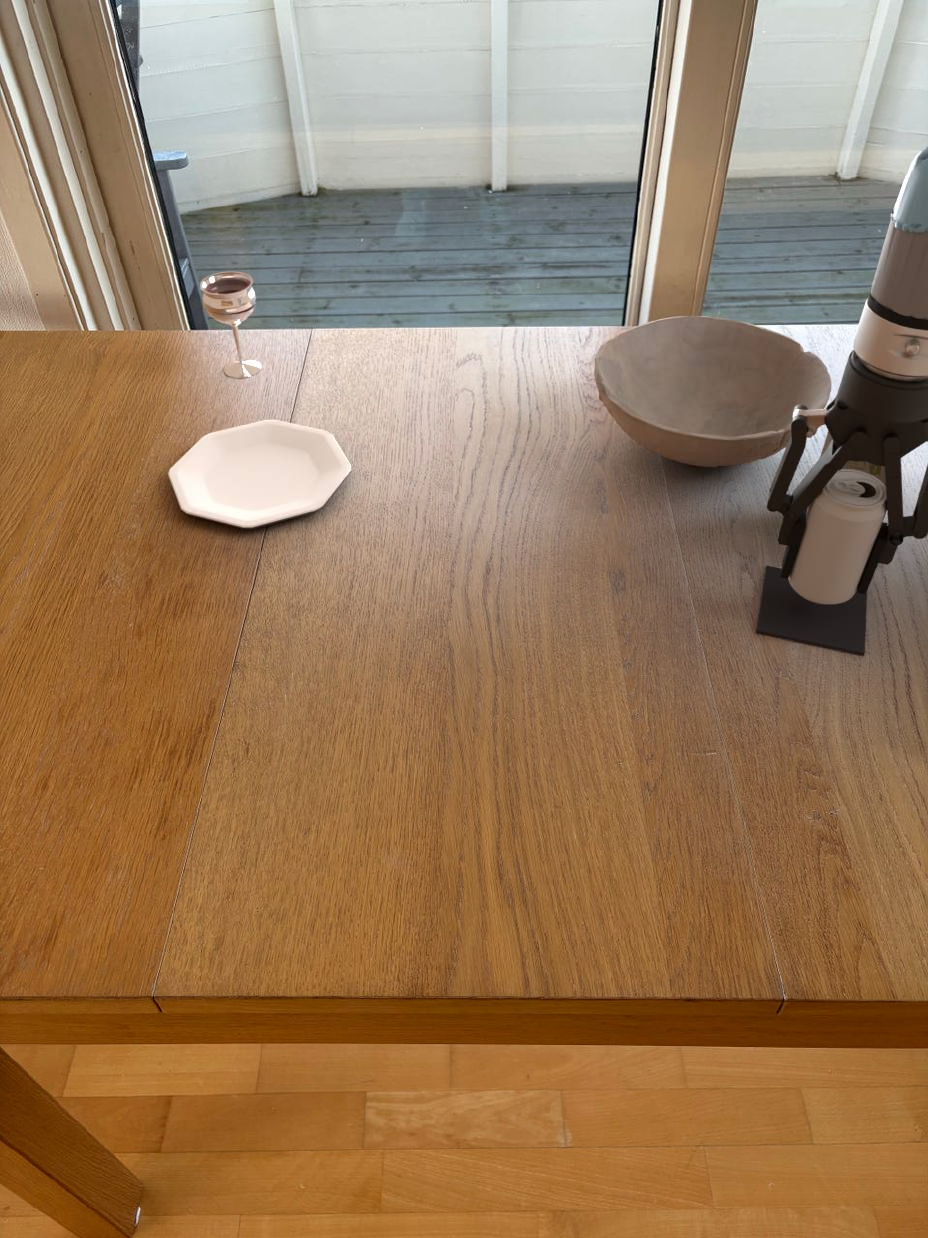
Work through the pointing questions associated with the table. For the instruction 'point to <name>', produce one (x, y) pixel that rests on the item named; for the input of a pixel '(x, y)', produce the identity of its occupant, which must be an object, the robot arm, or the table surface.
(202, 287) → the wineglass
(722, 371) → the bowl
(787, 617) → the coaster
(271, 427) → the plate
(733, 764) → the table surface
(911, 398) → the robot arm
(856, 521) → the beverage can
